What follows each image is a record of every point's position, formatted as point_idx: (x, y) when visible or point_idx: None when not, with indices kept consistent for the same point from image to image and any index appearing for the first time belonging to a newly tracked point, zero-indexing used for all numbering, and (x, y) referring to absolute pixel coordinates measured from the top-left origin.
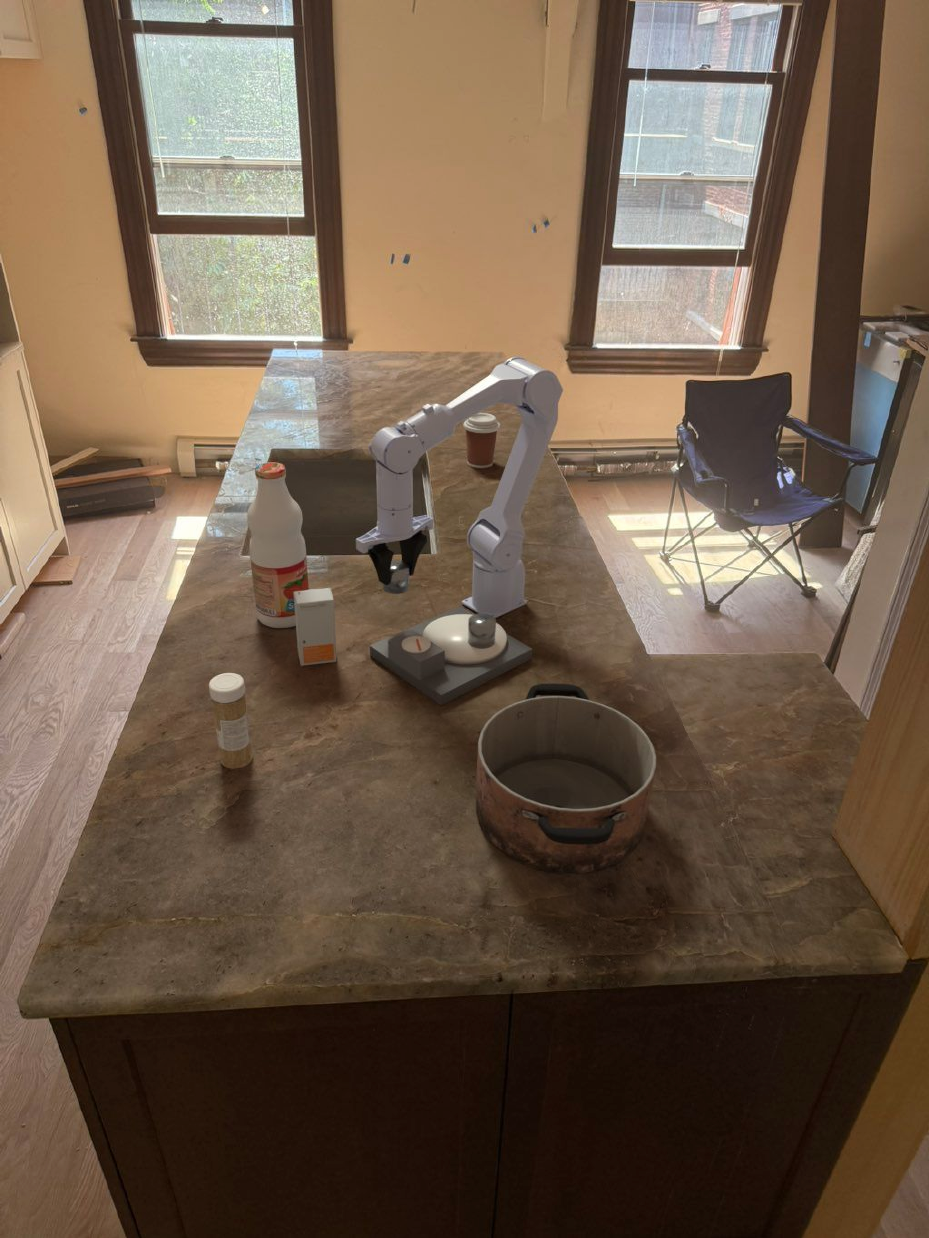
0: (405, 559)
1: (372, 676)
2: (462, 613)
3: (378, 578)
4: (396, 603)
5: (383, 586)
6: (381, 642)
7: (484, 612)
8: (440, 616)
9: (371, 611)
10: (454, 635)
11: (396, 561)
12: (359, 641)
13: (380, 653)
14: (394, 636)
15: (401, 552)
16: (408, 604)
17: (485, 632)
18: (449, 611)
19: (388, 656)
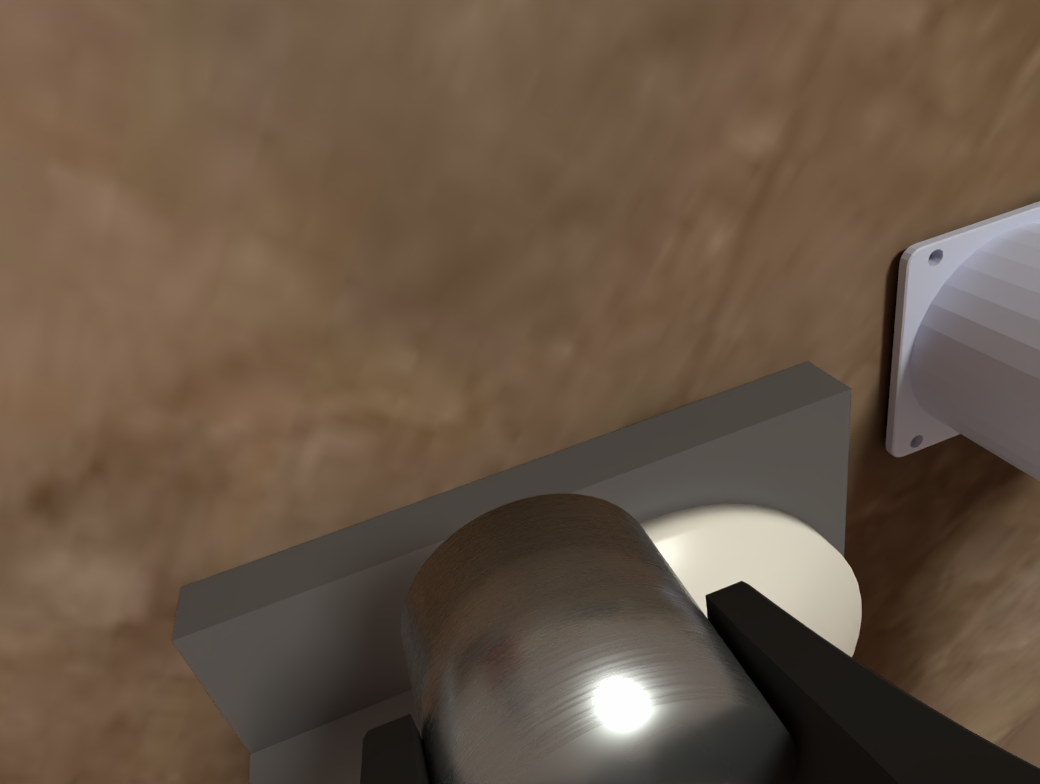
0: (825, 773)
1: (145, 738)
2: (813, 461)
3: (362, 764)
4: (588, 44)
5: (407, 652)
6: (259, 624)
7: (910, 405)
8: (703, 458)
9: (360, 72)
10: None
11: (717, 729)
12: (148, 436)
13: (220, 705)
14: (362, 582)
15: (889, 773)
16: (653, 104)
17: None
18: (775, 422)
19: (250, 766)
